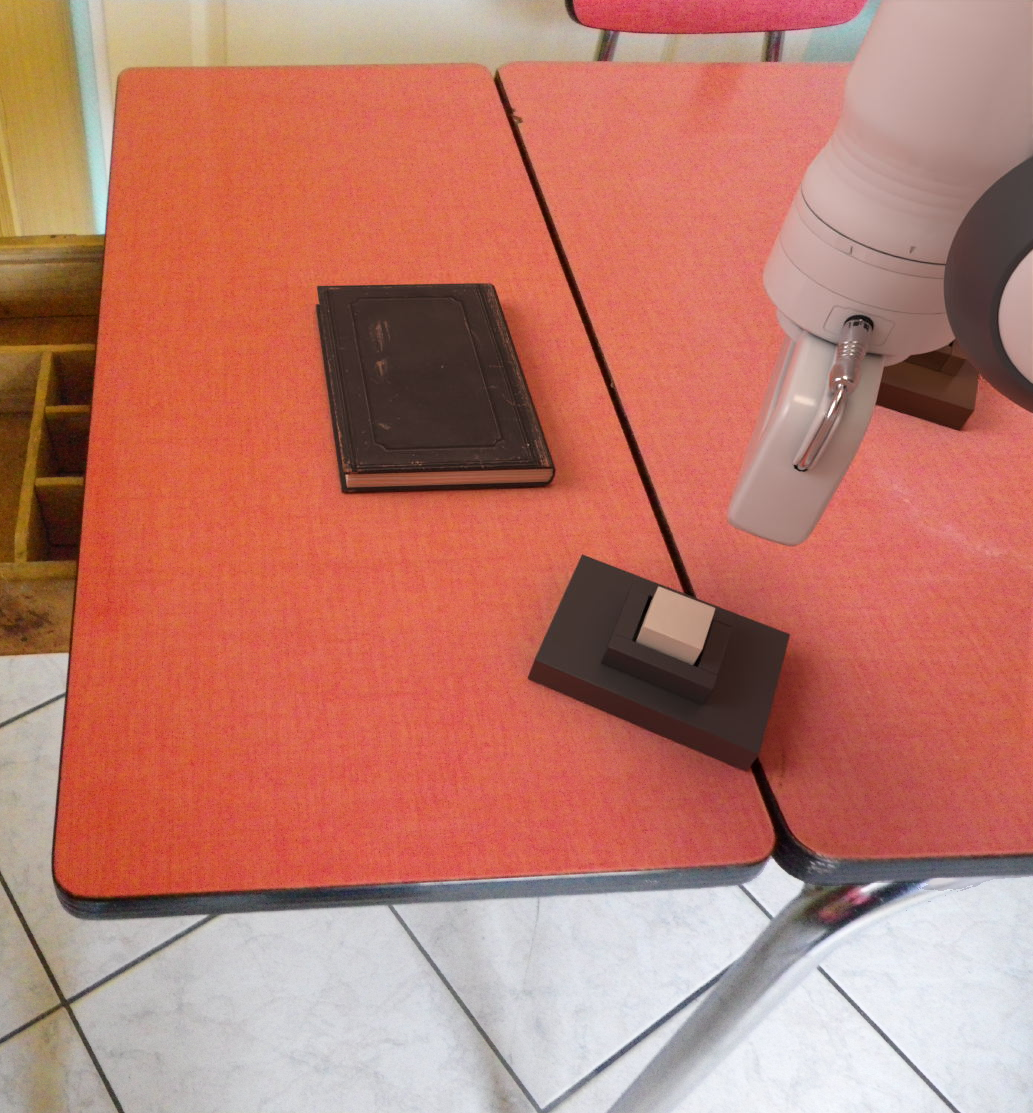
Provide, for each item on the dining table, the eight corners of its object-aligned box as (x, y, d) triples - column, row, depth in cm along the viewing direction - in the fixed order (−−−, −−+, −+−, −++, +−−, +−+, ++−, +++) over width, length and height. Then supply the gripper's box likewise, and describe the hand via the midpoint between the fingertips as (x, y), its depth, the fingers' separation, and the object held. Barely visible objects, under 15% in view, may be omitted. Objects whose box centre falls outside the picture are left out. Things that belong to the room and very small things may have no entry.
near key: (706, 624, 65) (715, 607, 63) (692, 666, 62) (702, 649, 61) (650, 602, 66) (658, 585, 64) (635, 642, 64) (643, 626, 62)
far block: (856, 303, 94) (876, 266, 91) (973, 337, 91) (998, 299, 88) (832, 390, 85) (853, 352, 82) (959, 430, 83) (987, 393, 80)
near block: (777, 653, 68) (801, 617, 65) (746, 772, 62) (771, 738, 59) (574, 574, 72) (588, 536, 69) (527, 678, 66) (540, 642, 63)
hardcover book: (341, 493, 76) (344, 471, 74) (315, 307, 91) (317, 285, 89) (551, 487, 77) (558, 465, 75) (492, 304, 92) (496, 282, 90)
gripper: (928, 426, 39) (786, 638, 49) (969, 181, 51) (847, 395, 61) (760, 373, 41) (657, 590, 51) (837, 150, 52) (740, 362, 63)
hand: (761, 482), depth 56 cm, fingers closed
